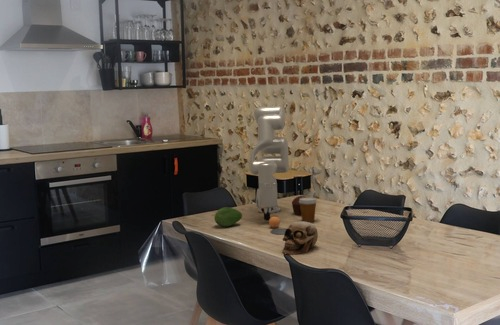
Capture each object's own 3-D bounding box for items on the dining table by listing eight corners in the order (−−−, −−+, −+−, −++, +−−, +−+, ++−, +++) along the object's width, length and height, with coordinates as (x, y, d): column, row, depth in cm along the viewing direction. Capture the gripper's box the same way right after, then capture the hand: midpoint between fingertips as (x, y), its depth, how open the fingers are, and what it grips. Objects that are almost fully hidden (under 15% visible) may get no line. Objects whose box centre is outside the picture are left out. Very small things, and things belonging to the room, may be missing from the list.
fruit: (238, 222, 338) (237, 203, 337) (246, 225, 330) (245, 207, 328) (212, 225, 332) (211, 207, 331) (219, 229, 323) (218, 210, 322)
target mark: (266, 230, 317) (266, 230, 317) (288, 227, 321) (288, 227, 321) (275, 235, 306) (275, 235, 306) (298, 232, 310) (298, 232, 310)
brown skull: (281, 254, 273) (282, 224, 272) (283, 248, 290) (283, 219, 289) (318, 255, 271) (318, 224, 271) (317, 248, 289) (317, 219, 288)
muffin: (288, 213, 355) (287, 196, 354) (305, 211, 359) (304, 193, 358) (298, 217, 344) (298, 199, 343) (316, 214, 349) (315, 197, 347)
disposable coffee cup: (318, 222, 330) (317, 200, 328) (299, 223, 330) (299, 200, 328) (316, 218, 339) (315, 196, 338) (298, 219, 339) (298, 197, 338)
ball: (271, 229, 320) (267, 226, 325) (281, 228, 322) (277, 225, 327) (271, 219, 319) (267, 215, 324) (281, 218, 320) (277, 214, 326)
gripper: (276, 183, 337) (277, 217, 339) (250, 186, 332) (251, 220, 334) (281, 185, 330) (282, 220, 332) (254, 188, 325) (256, 223, 327)
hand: (267, 220), depth 333 cm, fingers closed
